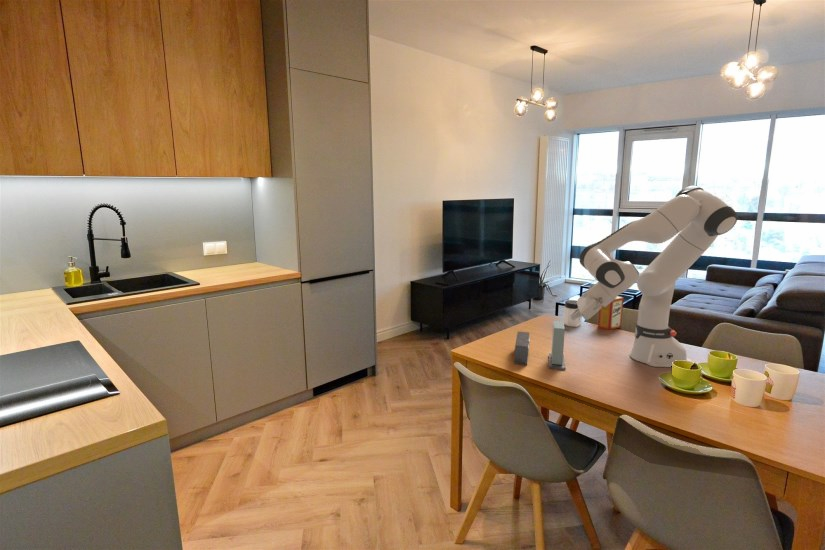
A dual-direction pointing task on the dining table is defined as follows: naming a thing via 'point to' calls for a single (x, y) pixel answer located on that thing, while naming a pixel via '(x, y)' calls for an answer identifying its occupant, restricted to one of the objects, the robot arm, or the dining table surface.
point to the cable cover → (558, 342)
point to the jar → (568, 310)
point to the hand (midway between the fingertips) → (571, 318)
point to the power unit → (522, 348)
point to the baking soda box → (611, 314)
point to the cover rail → (556, 366)
